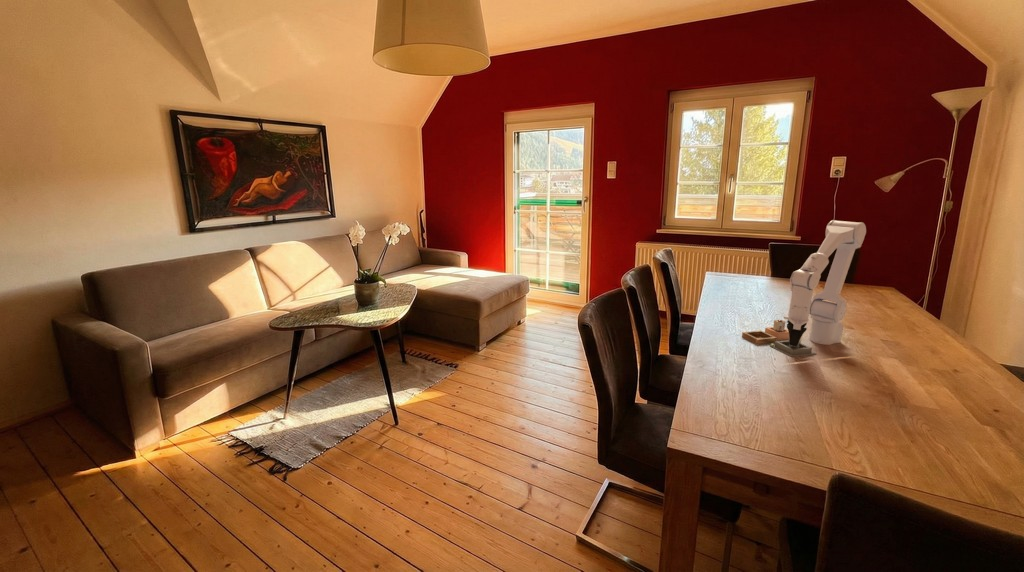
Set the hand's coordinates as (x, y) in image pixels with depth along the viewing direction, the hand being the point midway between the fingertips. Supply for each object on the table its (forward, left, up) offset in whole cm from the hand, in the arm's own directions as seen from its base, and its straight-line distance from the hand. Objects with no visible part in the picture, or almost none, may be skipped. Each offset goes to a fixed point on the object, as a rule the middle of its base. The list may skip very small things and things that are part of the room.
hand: (793, 343), depth 149 cm
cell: (0, 0, -2) cm, 2 cm away
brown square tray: (+4, -11, -3) cm, 12 cm away
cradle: (0, 0, -3) cm, 3 cm away
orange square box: (-5, -12, -3) cm, 13 cm away
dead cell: (-5, -12, -3) cm, 13 cm away
